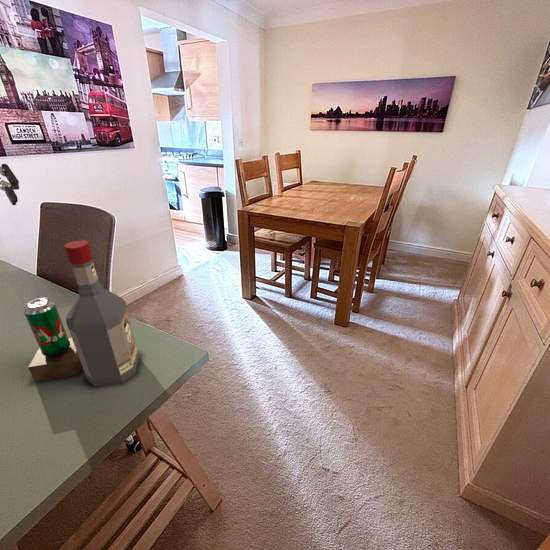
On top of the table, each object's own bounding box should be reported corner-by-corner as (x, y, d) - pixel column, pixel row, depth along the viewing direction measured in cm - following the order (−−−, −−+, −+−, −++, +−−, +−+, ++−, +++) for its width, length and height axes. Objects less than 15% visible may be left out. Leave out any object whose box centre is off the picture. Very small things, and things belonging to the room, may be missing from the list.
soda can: (63, 339, 68) (45, 293, 62) (75, 347, 65) (58, 301, 60) (38, 352, 64) (16, 305, 58) (50, 361, 61) (29, 313, 56)
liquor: (85, 390, 61) (33, 256, 47) (99, 359, 69) (58, 236, 55) (133, 384, 63) (96, 252, 49) (141, 354, 71) (112, 233, 57)
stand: (36, 385, 62) (27, 367, 60) (50, 358, 69) (42, 341, 67) (79, 377, 64) (73, 360, 62) (89, 352, 71) (83, 335, 69)
